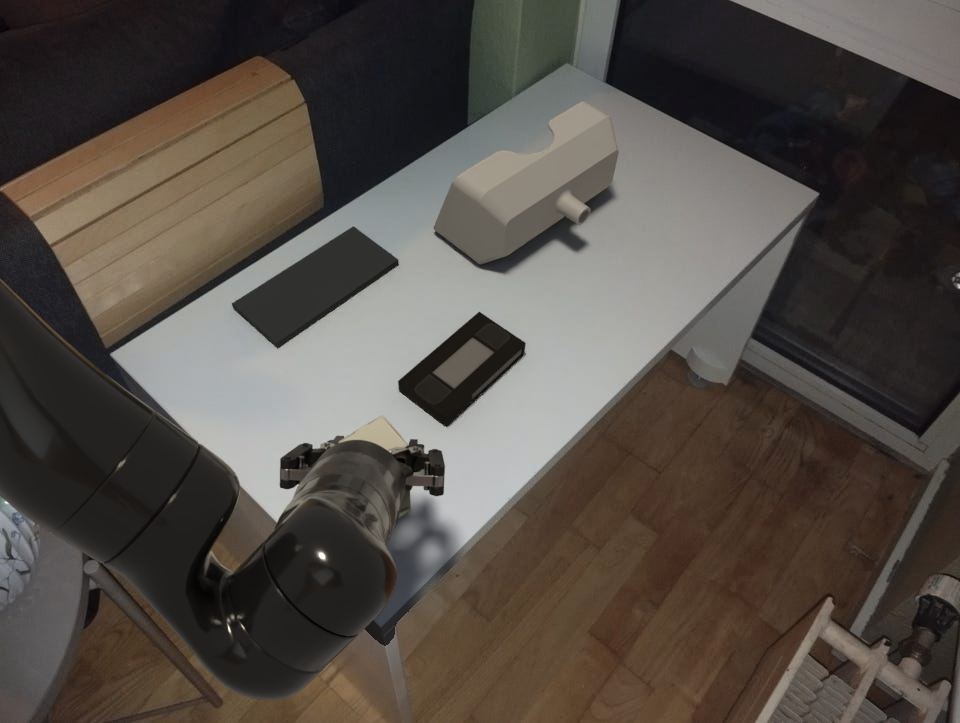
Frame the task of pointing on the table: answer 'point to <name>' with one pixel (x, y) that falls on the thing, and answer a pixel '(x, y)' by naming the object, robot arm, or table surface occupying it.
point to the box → (382, 444)
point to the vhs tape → (461, 368)
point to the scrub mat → (314, 286)
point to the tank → (530, 187)
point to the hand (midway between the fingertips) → (377, 447)
